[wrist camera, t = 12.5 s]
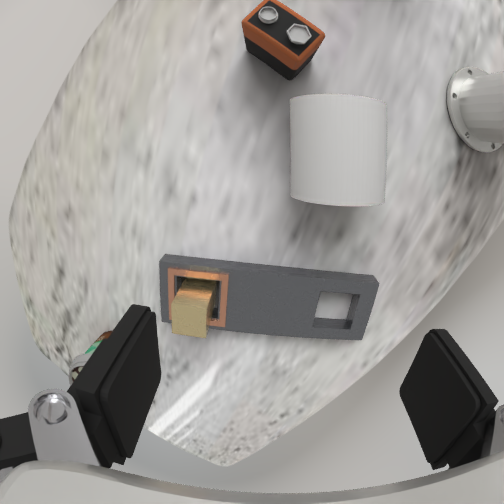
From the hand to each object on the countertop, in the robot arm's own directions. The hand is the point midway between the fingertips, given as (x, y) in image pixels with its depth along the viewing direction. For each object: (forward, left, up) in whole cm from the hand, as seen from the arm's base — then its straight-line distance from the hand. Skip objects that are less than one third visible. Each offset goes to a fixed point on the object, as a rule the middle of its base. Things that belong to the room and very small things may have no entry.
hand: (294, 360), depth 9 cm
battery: (+1, -18, -28) cm, 34 cm away
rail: (-1, +13, -28) cm, 31 cm away
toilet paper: (-6, -7, -29) cm, 30 cm away
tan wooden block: (+8, +13, -28) cm, 32 cm away
